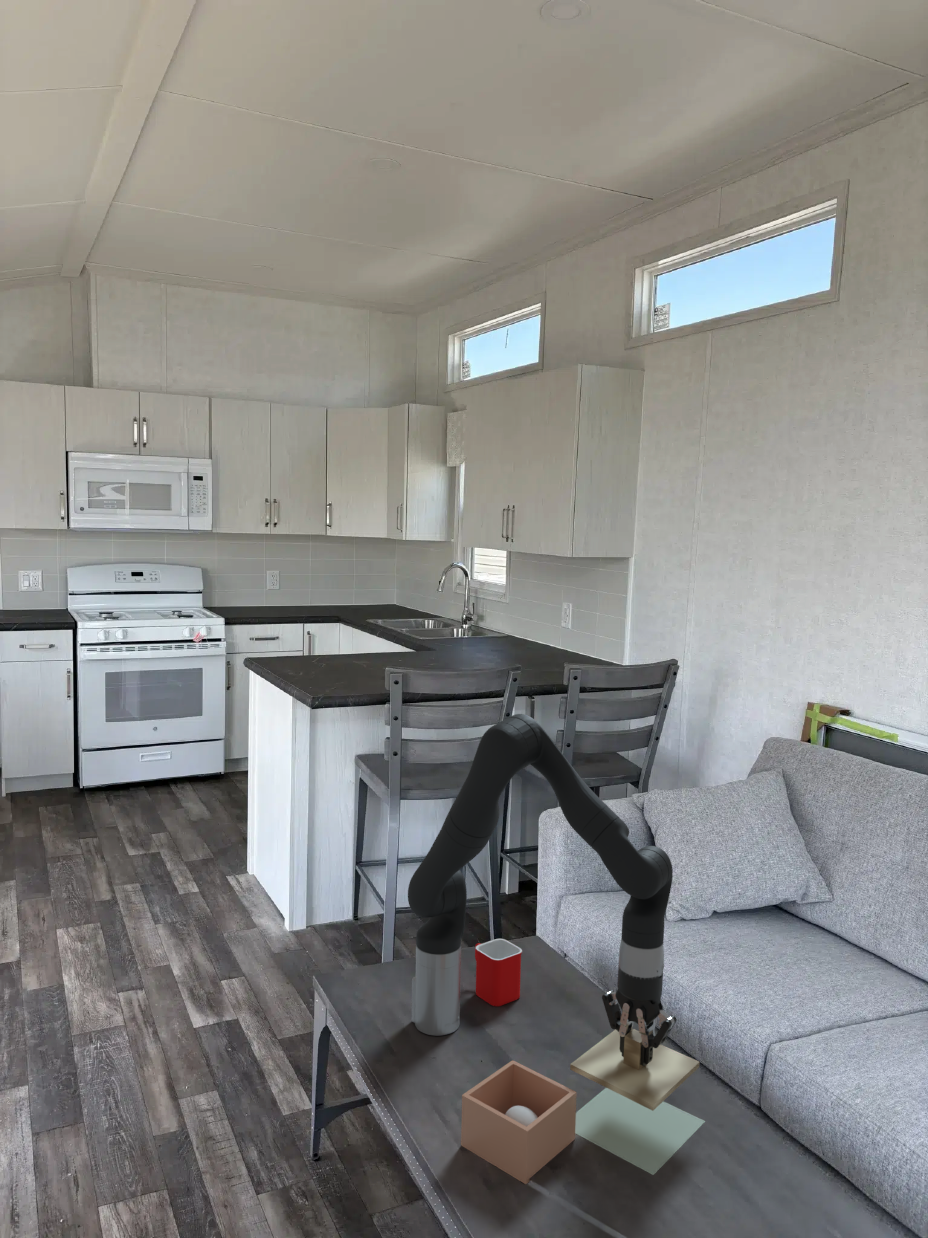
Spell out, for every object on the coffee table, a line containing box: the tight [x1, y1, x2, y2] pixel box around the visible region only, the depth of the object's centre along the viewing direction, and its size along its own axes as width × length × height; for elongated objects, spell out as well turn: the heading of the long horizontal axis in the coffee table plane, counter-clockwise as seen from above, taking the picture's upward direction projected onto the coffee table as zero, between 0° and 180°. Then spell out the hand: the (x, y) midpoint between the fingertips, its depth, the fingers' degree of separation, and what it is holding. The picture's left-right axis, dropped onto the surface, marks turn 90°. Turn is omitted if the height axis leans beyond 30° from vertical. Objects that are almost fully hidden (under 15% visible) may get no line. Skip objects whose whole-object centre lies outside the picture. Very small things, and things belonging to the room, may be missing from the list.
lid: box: [569, 1028, 701, 1111], centre depth 161 cm, size 16×16×6 cm
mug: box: [474, 938, 523, 1007], centre depth 206 cm, size 12×8×11 cm
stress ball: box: [505, 1105, 538, 1127], centre depth 158 cm, size 8×8×7 cm
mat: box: [575, 1087, 706, 1176], centre depth 162 cm, size 18×18×1 cm
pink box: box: [460, 1060, 578, 1185], centre depth 156 cm, size 14×14×9 cm
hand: (635, 1059), depth 161 cm, fingers closed on lid, 3 cm apart
